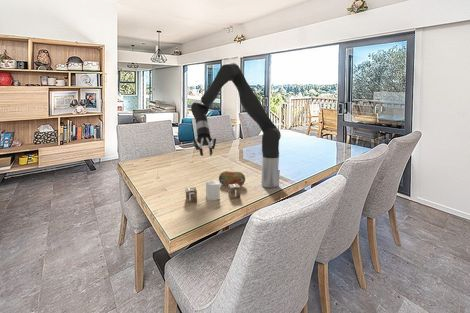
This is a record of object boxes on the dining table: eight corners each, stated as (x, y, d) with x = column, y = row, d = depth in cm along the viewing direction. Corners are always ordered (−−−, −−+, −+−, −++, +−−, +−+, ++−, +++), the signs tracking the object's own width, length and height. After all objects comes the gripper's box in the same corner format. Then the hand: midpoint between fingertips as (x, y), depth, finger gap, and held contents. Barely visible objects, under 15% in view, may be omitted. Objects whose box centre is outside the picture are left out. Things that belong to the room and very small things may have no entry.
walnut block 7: (195, 198, 136) (195, 186, 135) (197, 202, 131) (196, 190, 130) (185, 199, 135) (185, 187, 133) (186, 203, 130) (186, 191, 129)
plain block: (217, 194, 141) (217, 180, 139) (219, 199, 135) (219, 184, 133) (205, 195, 139) (205, 181, 137) (207, 200, 134) (207, 185, 132)
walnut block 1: (237, 194, 142) (237, 183, 140) (240, 198, 137) (240, 186, 135) (228, 195, 140) (228, 184, 139) (230, 199, 136) (230, 187, 134)
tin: (218, 185, 155) (218, 171, 153) (220, 183, 158) (220, 169, 156) (244, 187, 151) (244, 173, 149) (245, 185, 154) (245, 171, 152)
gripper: (191, 126, 153) (194, 152, 144) (215, 126, 156) (220, 150, 148) (190, 134, 159) (193, 159, 151) (214, 133, 163) (218, 157, 154)
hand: (206, 155), depth 149 cm, fingers open, 4 cm apart
